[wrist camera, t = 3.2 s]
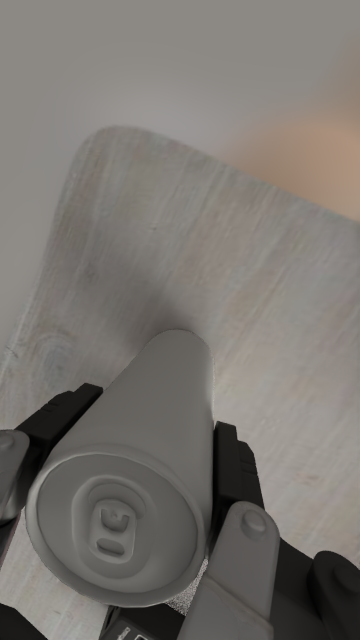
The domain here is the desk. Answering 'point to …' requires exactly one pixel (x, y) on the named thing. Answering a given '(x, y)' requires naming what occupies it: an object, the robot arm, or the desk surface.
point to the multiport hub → (142, 623)
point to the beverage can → (133, 481)
